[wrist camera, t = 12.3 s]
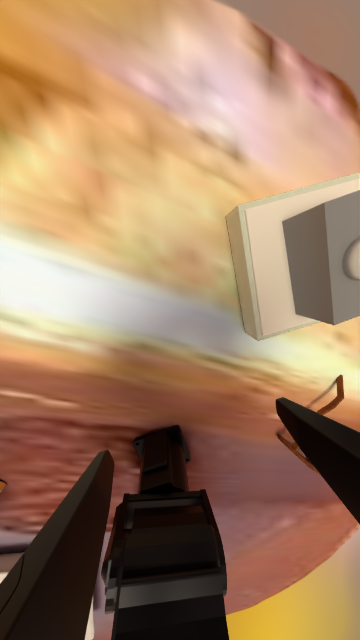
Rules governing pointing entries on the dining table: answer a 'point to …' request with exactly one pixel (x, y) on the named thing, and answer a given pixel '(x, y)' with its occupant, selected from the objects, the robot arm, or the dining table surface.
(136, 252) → the dining table surface
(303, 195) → the stand
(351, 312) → the block
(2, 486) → the small box
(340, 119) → the dining table surface
